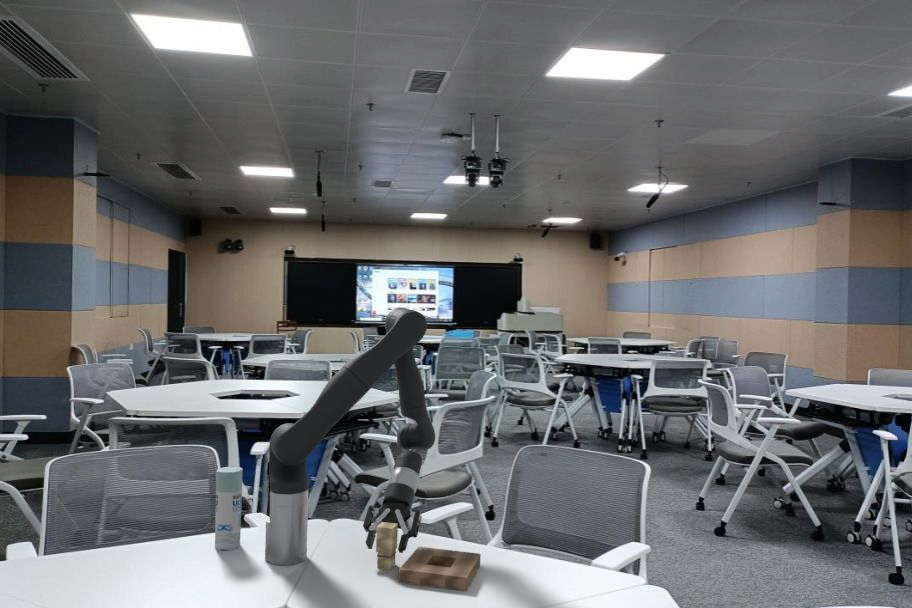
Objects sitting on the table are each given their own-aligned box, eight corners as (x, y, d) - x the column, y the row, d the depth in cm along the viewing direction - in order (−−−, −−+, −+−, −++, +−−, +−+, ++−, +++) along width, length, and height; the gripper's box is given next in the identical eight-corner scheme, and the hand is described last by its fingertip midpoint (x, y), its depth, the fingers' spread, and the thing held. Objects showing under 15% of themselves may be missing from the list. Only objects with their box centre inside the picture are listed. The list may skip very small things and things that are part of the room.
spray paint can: (235, 551, 165) (237, 472, 165) (210, 550, 165) (212, 472, 165) (244, 542, 171) (246, 466, 171) (219, 541, 171) (221, 466, 171)
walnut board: (398, 582, 148) (399, 569, 148) (418, 558, 163) (418, 546, 163) (466, 591, 144) (466, 577, 144) (480, 565, 159) (480, 553, 159)
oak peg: (375, 568, 156) (376, 526, 156) (381, 562, 160) (382, 521, 160) (391, 570, 155) (392, 528, 155) (396, 564, 159) (397, 523, 159)
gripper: (372, 479, 166) (353, 539, 155) (425, 483, 163) (409, 545, 152) (378, 494, 171) (361, 553, 160) (430, 499, 168) (415, 560, 157)
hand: (384, 549), depth 156 cm, fingers open, 7 cm apart
